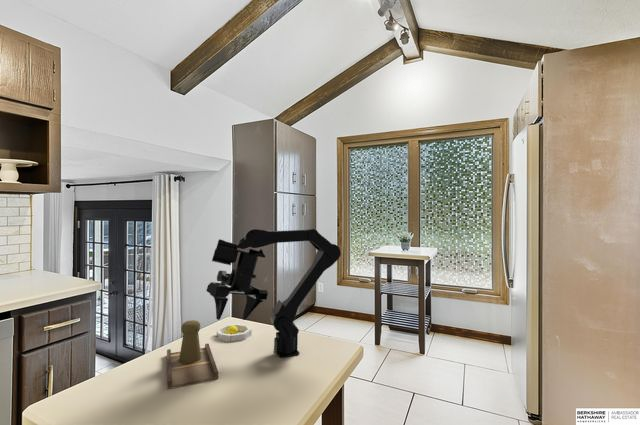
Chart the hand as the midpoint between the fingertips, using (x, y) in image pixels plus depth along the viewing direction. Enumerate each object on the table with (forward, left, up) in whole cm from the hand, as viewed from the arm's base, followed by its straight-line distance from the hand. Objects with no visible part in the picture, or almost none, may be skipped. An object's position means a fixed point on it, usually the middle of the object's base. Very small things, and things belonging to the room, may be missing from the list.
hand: (231, 319), depth 94 cm
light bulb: (-3, -20, -12) cm, 23 cm away
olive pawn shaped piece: (+11, -3, -11) cm, 16 cm away
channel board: (+11, 0, -12) cm, 16 cm away
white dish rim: (-5, -19, -12) cm, 23 cm away
